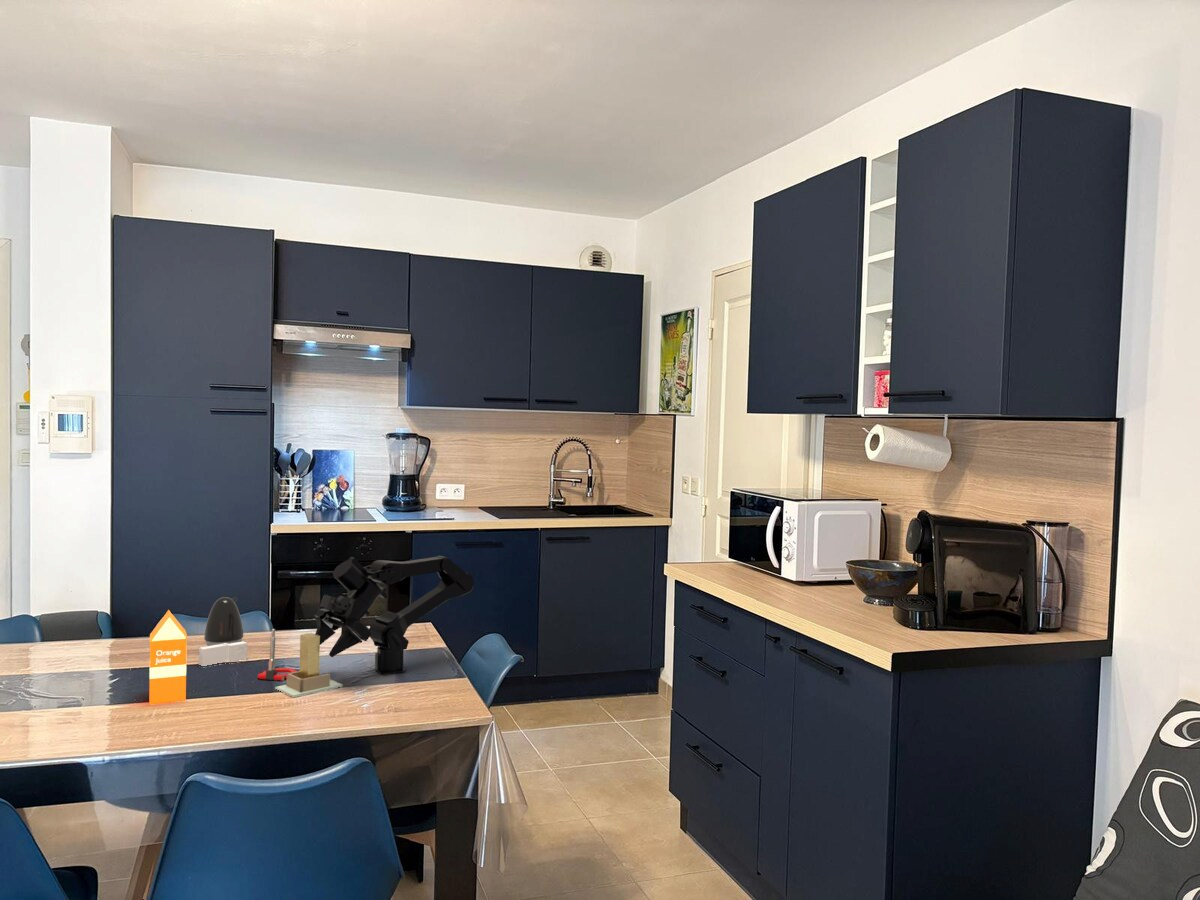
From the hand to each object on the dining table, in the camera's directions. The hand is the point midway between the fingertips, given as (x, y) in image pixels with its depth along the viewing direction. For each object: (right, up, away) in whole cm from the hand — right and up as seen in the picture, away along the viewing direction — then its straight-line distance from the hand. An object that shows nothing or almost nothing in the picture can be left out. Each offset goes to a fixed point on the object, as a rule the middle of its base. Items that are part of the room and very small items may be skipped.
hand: (320, 652), depth 214 cm
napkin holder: (-32, -8, +18) cm, 37 cm away
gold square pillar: (-2, -8, -2) cm, 8 cm away
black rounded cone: (-38, -7, +31) cm, 49 cm away
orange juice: (-32, -8, -12) cm, 35 cm away
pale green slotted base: (-2, -8, -2) cm, 9 cm away
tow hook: (-13, -8, +8) cm, 18 cm away
